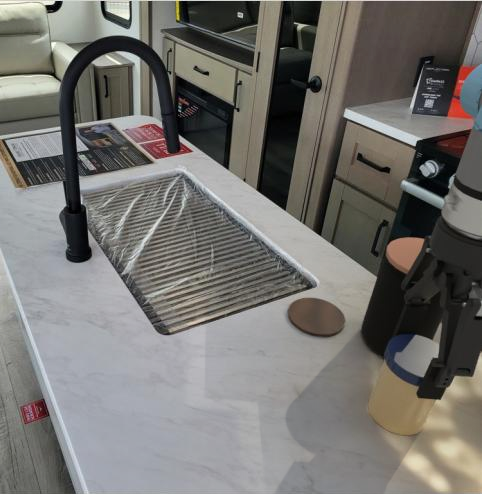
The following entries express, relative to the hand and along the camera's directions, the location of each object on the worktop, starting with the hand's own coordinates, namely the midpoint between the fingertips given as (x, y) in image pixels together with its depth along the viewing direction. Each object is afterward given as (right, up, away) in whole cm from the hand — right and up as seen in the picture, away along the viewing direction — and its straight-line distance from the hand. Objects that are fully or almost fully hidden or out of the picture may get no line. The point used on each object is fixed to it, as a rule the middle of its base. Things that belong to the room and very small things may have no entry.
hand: (414, 366), depth 64 cm
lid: (0, +2, -1) cm, 2 cm away
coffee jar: (+6, 0, +18) cm, 19 cm away
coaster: (-6, +3, +23) cm, 24 cm away
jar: (0, -8, +5) cm, 10 cm away
